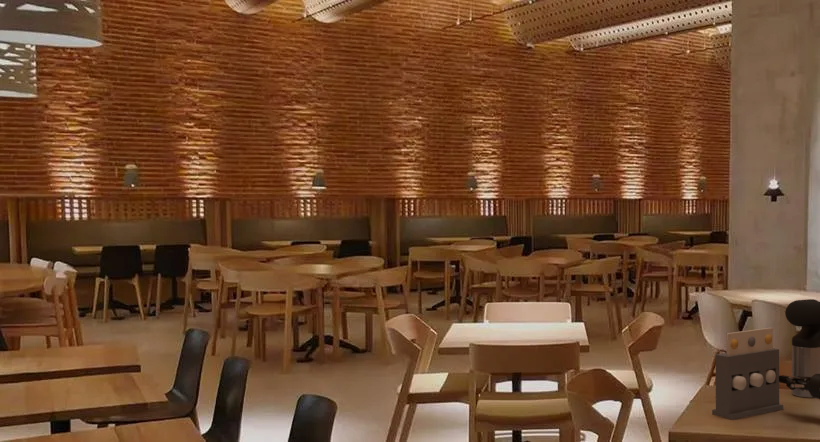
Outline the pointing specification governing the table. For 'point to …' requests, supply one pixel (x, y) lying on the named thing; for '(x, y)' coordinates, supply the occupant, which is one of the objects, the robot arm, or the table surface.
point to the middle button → (755, 379)
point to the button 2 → (770, 376)
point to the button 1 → (738, 382)
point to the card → (749, 341)
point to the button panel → (751, 397)
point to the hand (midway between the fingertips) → (780, 378)
